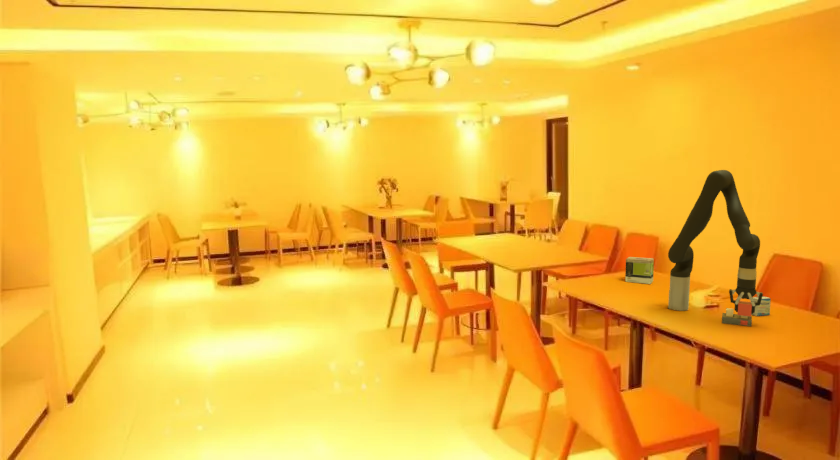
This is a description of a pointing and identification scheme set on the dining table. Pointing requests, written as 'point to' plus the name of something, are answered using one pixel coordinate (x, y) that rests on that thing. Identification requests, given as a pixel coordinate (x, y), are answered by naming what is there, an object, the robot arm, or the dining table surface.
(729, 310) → the breaker plain
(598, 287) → the dining table surface
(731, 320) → the breaker panel
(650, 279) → the tea box
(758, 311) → the medicine box
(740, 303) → the red block
